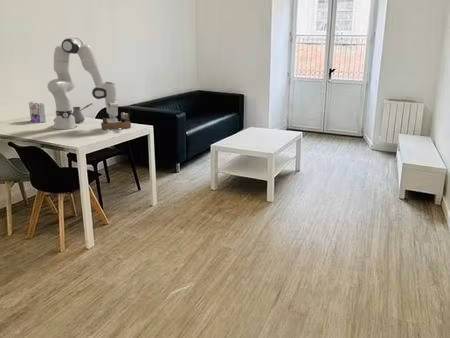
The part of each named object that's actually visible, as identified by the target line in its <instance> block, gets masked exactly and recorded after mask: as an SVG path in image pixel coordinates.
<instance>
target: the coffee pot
mask: <svg viewBox="0 0 450 338" xmlns="http://www.w3.org/2000/svg"><path fill="white" fill-rule="evenodd" d="M91 105H93V103H89V104H87V105H86V106H84V107H82V108H81V107H80V106H73V107H72V108H73V109H72V110H73V111H72V116H74V118H75V124H80V122H82V123H83V122H84V121H85V116H84V115H83V113H82V111H83V110H84V109H87V108H88V107H90V106H91Z"/></svg>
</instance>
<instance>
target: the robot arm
mask: <svg viewBox="0 0 450 338" xmlns="http://www.w3.org/2000/svg"><path fill="white" fill-rule="evenodd" d="M71 54H74V55H75V54H77V55H78V57H79V60H80V62H81V65H82V67H83V69H84V71H86V72H87V73H88V74H90V75H91V78H92V80H93V83H94V86H95V87H94V88H92V90H91V91H92V92H91V94H92V97H93V98H95V99H97V100H102V99H104V101H105V106H106V114H108V117H109V118H108V119H111V118H113V121H115V119H116V118H117V117H118V115H119V111H118V109H119V103H118V99H117V88H116V84H115V83H113V82H112V81H111V82H110V81H106V82H103V79H102V76H101V73H100V71H99V67H98V63H97V59H96V56H95V53H94V51H93V49H92V47H91V46H90V45H88V44H84V43H83V41H82V40H81V39H80V38H78V37H69V38H68V37H67V38H65V39H64V40H63V41H62V42H61V45H56V46H55V48H54V53H53V70H54V73H56V76H57V78H54V79H51V80H50V81H48V82H47V89H48V92H50V93H51V95H52V96H53V99H54V103H55V118H53V126H52V129H53V130H54V129H55V130H56V129H57V130H69V129H74V128H77V127H79V126H78V124H76V123H75V118H74V116H72V113H73V111H72V110H73V109H72V106H71V105H72V104H71V99H70V98H69V97H68V96H67V93H68V92H71V91H72V90H74V88H75V85H76V83H75V82H74V80H73V79H72V76H71V74H70V73H71V72H70V55H71Z"/></svg>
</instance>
